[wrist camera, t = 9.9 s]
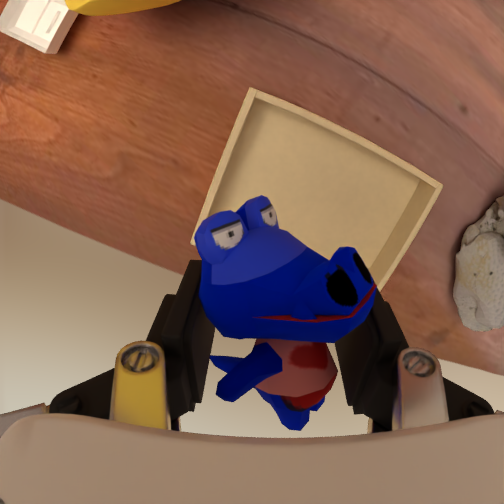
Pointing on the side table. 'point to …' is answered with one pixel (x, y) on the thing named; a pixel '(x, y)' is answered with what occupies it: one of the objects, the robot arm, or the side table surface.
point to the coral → (482, 272)
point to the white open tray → (38, 23)
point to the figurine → (278, 307)
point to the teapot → (114, 6)
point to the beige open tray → (322, 183)
